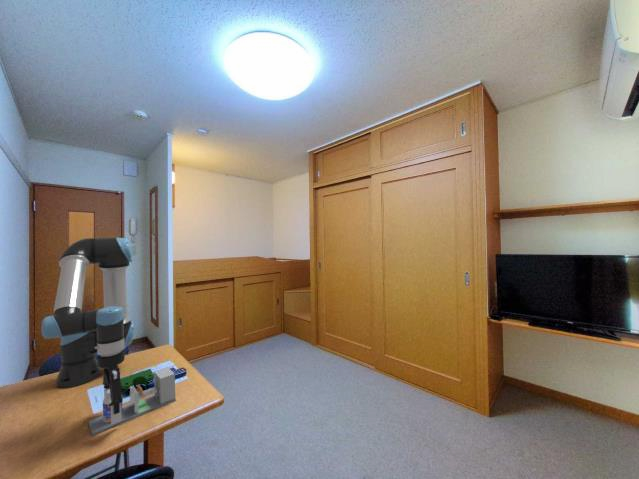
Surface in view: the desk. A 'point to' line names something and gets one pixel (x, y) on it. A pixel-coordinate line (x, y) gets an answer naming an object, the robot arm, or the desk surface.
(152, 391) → the plunger
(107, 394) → the pill bottle
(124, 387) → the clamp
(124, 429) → the desk surface
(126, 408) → the base
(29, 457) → the desk surface
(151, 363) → the desk surface
